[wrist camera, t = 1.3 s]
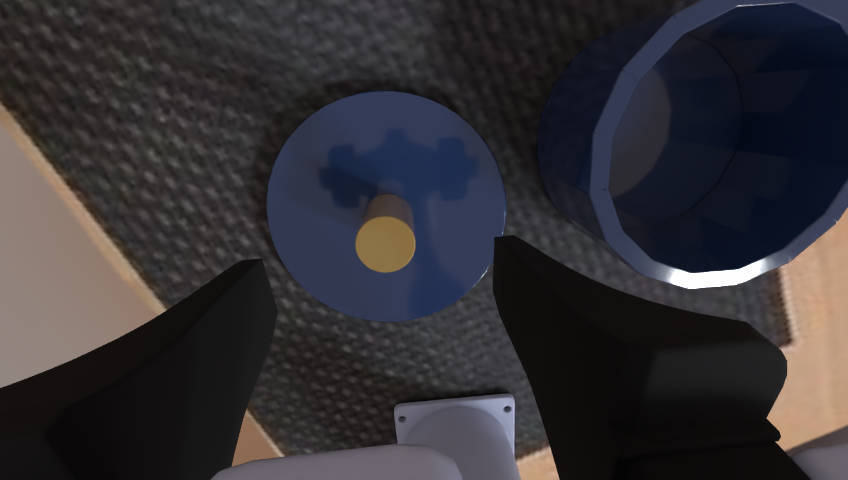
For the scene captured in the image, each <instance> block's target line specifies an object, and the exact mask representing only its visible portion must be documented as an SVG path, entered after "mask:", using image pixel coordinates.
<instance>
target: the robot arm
mask: <svg viewBox="0 0 848 480" xmlns="http://www.w3.org/2000/svg"><path fill="white" fill-rule="evenodd" d="M493 293H494V297H495V300H496V304H497V307H498V311H499V314H500V317H501V319H502V322H503V324H504V326H505V328H506V331H507V333H508V335H509V337H510V339H511V342H512V344H513V346H514V348H515V350H516V353H517V355H518V357H519V359H520V361H521V364H522V366H523V368H524V370H525V372H526V375H527V377H528V380H529V382H530V385H531V387H532V391H533V394H534V397H535V400H536V403H537V406H538V409H539V412H540V415H541V418H542V421H543V425H544V428H545V431H546V434H547V438H548V441H549V444H550V447H551V451H552V454H553V458H554V461H555V465H556V468H557V472H558V475H559V479H560V480H848V443H846V444H838V445H830V446H822V447H814V448H808V449H804V450H800V451H799V452H797V453H795V454H793V455H792V456H791V457H789V456H788V455H787V454H786V453H785V452H784V450H783V449H782V448H781V447H780V446H779V445H778V444H777V443H776V442H775V441H779V439H780V438H781V435H780V432H779V431H778V430H777V429H776V428H775V427H774V426H773V425H772V424H771V423H770V422H769V421H768V420H767V416H768V414H769V412H770V410H771V408H772V406H773V405H774V403H775V401H776V399H777V397H778V395H779V393H780V391H781V389H782V388H783V385H784V382H785V379H786V376H787V360H786V358H785V356H784V354H783V353H782V351H781V350H780V349H779V348H777V347H776V346H775V345H774V344H773V343H771V342H770V341H769V340H768V339H766V338H765V337H764V336H763V335H762V334H760V333H759V332H758V331H757V330H756V329H754V328H753V327H752V326H751V325H749V324H748V323H747V322H743V321H738V320H732V319H727V318H721V317H716V316H710V315H705V314H699V313H695V312H690V311H686V310H682V309H678V308H674V307H670V306H666V305H662V304H659V303H655V302H652V301H648V300H645V299H642V298H639V297H636V296H633V295H630V294H627V293H624V292H622V291H619V290H616V289H614V288H611V287H609V286H606V285H604V284H602V283H599V282H597V281H594V280H592V279H590V278H588V277H586V276H584V275H582V274H580V273H578V272H576V271H574V270H572V269H570V268H568V267H566V266H565V265H563V264H561V263H559V262H557V261H556V260H554V259H552V258H551V257H549V256H547V255H546V254H544V253H542V252H541V251H539V250H538V249H536V248H534V247H533V246H531V245H530V244H528V243H526V242H525V241H523V240H521V239H520V238H518V237H516V236H514V235H511V236H500V237H494V266H493ZM277 313H278V311H277V308H276V304H275V301H274V297H273V294H272V291H271V287H270V284H269V280H268V277H267V273H266V270H265V267H264V263H263V260H262V259H251V260H242V261H240V262H238V263H236V264H234V265H233V266H231V267H230V268H228V269H227V270H225V271H224V272H222V273H221V274H220V275H218V276H217V277H215V278H214V279H213V280H211V281H210V282H208V283H207V284H205V285H204V286H203V287H201V288H200V289H198V290H197V291H195V292H194V293H193V294H191V295H190V296H188V297H187V298H185V299H184V300H182V301H180V302H179V303H177V304H176V305H174V306H173V307H171V308H170V309H168V310H167V311H165V312H164V313H162V314H160V315H159V316H157V317H156V318H154V319H152V320H150V321H149V322H147V323H145V324H144V325H142V326H140V327H138V328H137V329H134V330H133V331H131V332H129V333H127V334H125V335H123V336H122V337H120V338H118V339H116V340H114V341H112V342H109V343H107V344H105V345H103V346H101V347H99V348H97V349H95V350H93V351H91V352H88V353H86V354H84V355H82V356H80V357H78V358H76V359H73V360H71V361H69V362H66V363H64V364H61V365H59V366H57V367H54V368H52V369H50V370H47V371H44V372H42V373H39V374H37V375H34V376H32V377H29V378H27V379H24V380H21V381H19V382H16V383H13V384H11V385H8V386H5V387H2V388H0V480H521V476H520V473H519V470H518V467H517V464H516V461H515V457H514V411H515V402H514V398H513V396H512V395H511V394H507V393H506V394H495V395H484V396H474V397H463V398H452V399H442V400H431V401H421V402H410V403H400V404H397V405H396V406H395V408H394V418H395V426H396V435H397V443H398V444H389V445H381V446H372V447H364V448H355V449H347V450H338V451H330V452H321V453H313V454H304V455H296V456H287V457H278V458H270V459H261V460H253V461H250V462H246V463H244V464H240V465H236V466H233V467H231V466H232V462H233V457H234V453H235V449H236V445H237V441H238V437H239V433H240V429H241V425H242V421H243V418H244V415H245V412H246V409H247V405H248V403H249V400H250V397H251V395H252V392H253V389H254V387H255V384H256V381H257V379H258V376H259V374H260V371H261V368H262V366H263V363H264V360H265V358H266V355H267V352H268V349H269V347H270V344H271V341H272V337H273V333H274V328H275V323H276V318H277ZM506 406H509V407H508V408H504V407H506ZM401 416H404V418H400V417H401Z"/></svg>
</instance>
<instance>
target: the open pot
mask: <svg viewBox="0 0 848 480" xmlns="http://www.w3.org/2000/svg"><path fill="white" fill-rule="evenodd" d="M537 162H538V168H539V174H540V177H541V180H542V183H543V186H544V188H545V190H546V192H547V194H548V197H549V198H550V200H551V201H552V203H553V205H554V207H555V208H556V209H557V210H558V211H559V212H560V213H561V214H562V215H563V216H564V217H565V218H566V219H568V220H569V221H570V222H571V223H572V224H573V225H574V226H575V227H576V228H577V229H579V230H580V231H581V232H582V233H584V234H585V235H586V236H588V237H589V238H590V239H592V240H593V241H594V242H596V243H597V244H599V245H600V246H601V247H603V248H604V249H605V250H607V251H608V252H609V253H611V254H612V255H614V256H615V257H616V258H618V259H619V260H620V261H622V262H623V263H624V264H626V265H627V266H629V267H630V268H631V269H633V270H634V271H635V272H637V273H638V274H640V275H642V276H645V277H648V278H651V279H655V280H658V281H661V282H664V283H667V284H671V285H674V286H677V287H680V288H684V289H696V288H708V287H719V286H731V285H738V284H741V283H743V282H745V281H748V280H750V279H752V278H755V277H757V276H759V275H761V274H764V273H766V272H768V271H771V270H773V269H775V268H778V267H780V266H782V265H784V264H787V263H789V262H790V261H792V260H793V259H794V258H795V257H797V256H798V255H799V254H800V253H801V252H803V251H804V250H805V249H806V248H807V247H809V246H810V245H811V244H812V243H813V242H815V241H816V240H817V239H818V238H819V237H821V236H822V235H823V234H824V233H825V232H827V231H828V230H829V229H830V228H831V227H833V226H834V225H835V224H836V222H838V221H839V219H840V218H841V216H842V215H843V213H844V212H845V211H846V209H847V208H848V0H683V1H680V2H677V3H674V4H672V5H669V6H666V7H663V8H660V9H658V10H655V11H652V12H649V13H646V14H643V15H641V16H638V17H636V18H634V19H632V20H630V21H628V22H626V23H624V24H622V25H620V26H618V27H615V28H613V29H611V30H609V31H608V32H606V33H604V34H603V35H601V36H599V37H598V38H596V39H595V40H593V41H592V42H591V43H590V44H589V45H587V46H586V47H585V48H584V49H583V50H582V51H581V52H580V53H579V54H578V55H577V56H576V57H575V58H574V59H573V60H572V61H571V62H570V63H569V65H568V66H567V67H566V68H565V70H564V71H563V72H562V74H561V75H560V77H559V78H558V80H557V81H556V83H555V85H554V86H553V88H552V90H551V92H550V94H549V97H548V99H547V101H546V103H545V106H544V109H543V112H542V115H541V119H540V124H539V129H538V136H537Z"/></svg>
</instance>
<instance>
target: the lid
mask: <svg viewBox="0 0 848 480" xmlns="http://www.w3.org/2000/svg"><path fill="white" fill-rule="evenodd" d="M267 218H268V226H269V230H270V234H271V237H272V241H273V243H274V246H275V248H276V250H277V253H278V255H279V257H280V259H281V260H282V262H283V264H284V265H285V267H286V269H287V270H288V271H289V273H290V274H291V275H292V276H293V278H294V279H295V280H296V281H297V282H298V283H299V284H300V285H301V286H302V287H303V288H304V289H305V290H306V291H307V292H308V293H309V294H311V295H312V296H313V297H315V298H316V299H317V300H319V301H320V302H322V303H324V304H325V305H327V306H328V307H330V308H332V309H335V310H337V311H339V312H341V313H343V314H347V315H350V316H353V317H356V318H360V319H365V320H370V321H381V322H395V321H405V320H412V319H416V318H420V317H424V316H427V315H430V314H432V313H435V312H437V311H440V310H442V309H444V308H445V307H447V306H449V305H451V304H453V303H454V302H456V301H457V300H458V299H460V298H461V297H463V296H464V295H465V294H466V293H467V292H468V291H470V290H471V289H472V288H473V287H474V286H475V285H476V284H477V282H478V281H479V280H480V279H481V278H482V277H483V275H484V274H485V272H486V271H487V269H488V268H489V266H490V265H491V263H492V261H493V259H494V237H500V236H503V232H504V227H505V221H506V195H505V189H504V184H503V179H502V176H501V173H500V170H499V167H498V164H497V162H496V160H495V158H494V156H493V154H492V152H491V150H490V149H489V147H488V146H487V144H486V143H485V142H484V140H483V139H482V137H481V136H480V135H479V134H478V133H477V132H476V130H475V129H474V128H473V127H472V126H471V125H470V124H469V123H468V122H466V121H465V120H464V119H463V118H462V117H460V116H459V115H458V114H457V113H455V112H453V111H452V110H450V109H449V108H447V107H445V106H444V105H442V104H440V103H437V102H435V101H433V100H430V99H428V98H426V97H422V96H418V95H415V94H411V93H406V92H398V91H371V92H364V93H357V94H354V95H351V96H347V97H344V98H341V99H339V100H336V101H334V102H332V103H330V104H328V105H326V106H324V107H322V108H321V109H319V110H318V111H316V112H315V113H313V114H312V115H310V116H309V117H308V118H307V119H306V120H305V121H304V122H302V123H301V124H300V125H299V126H298V127H297V128H296V130H295V131H294V132H293V133H292V134H291V135H290V136H289V138H288V139H287V141H286V142H285V144H284V145H283V147H282V149H281V150H280V152H279V154H278V156H277V159H276V161H275V163H274V165H273V168H272V172H271V175H270V179H269V183H268V190H267Z"/></svg>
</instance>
